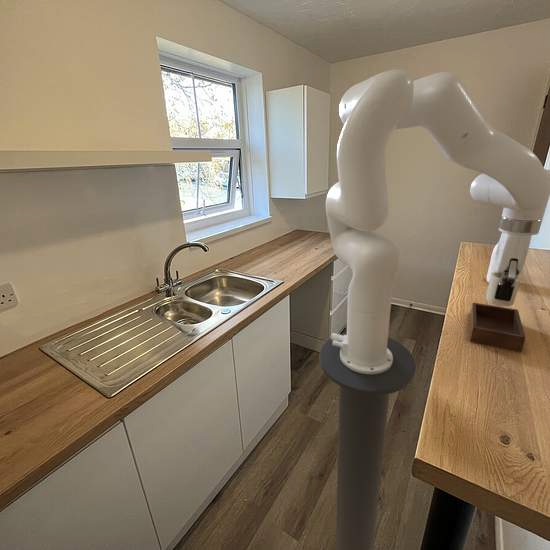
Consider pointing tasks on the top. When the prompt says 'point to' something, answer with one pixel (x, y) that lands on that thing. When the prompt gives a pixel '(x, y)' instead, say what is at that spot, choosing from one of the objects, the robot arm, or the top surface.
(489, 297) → the cream pot
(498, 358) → the top surface
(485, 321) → the wooden box
